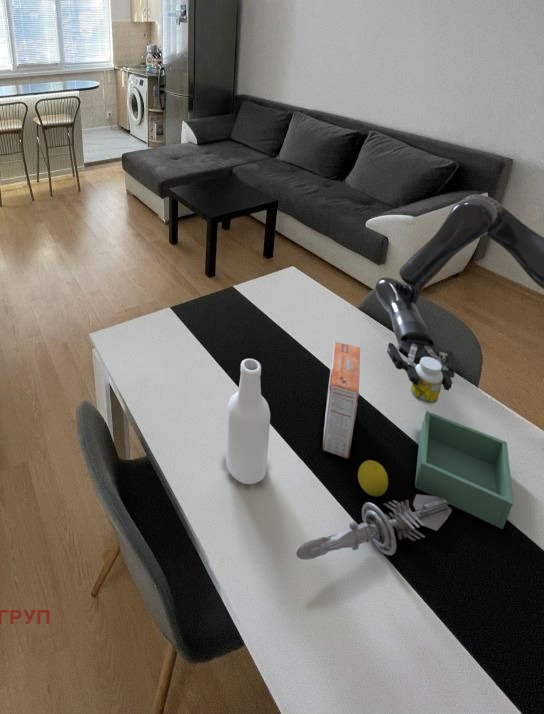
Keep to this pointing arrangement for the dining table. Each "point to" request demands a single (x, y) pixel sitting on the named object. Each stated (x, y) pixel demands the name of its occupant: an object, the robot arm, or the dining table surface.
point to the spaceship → (382, 527)
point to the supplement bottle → (428, 381)
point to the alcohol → (248, 427)
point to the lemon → (373, 478)
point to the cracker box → (342, 399)
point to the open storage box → (464, 469)
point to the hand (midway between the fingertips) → (432, 384)
